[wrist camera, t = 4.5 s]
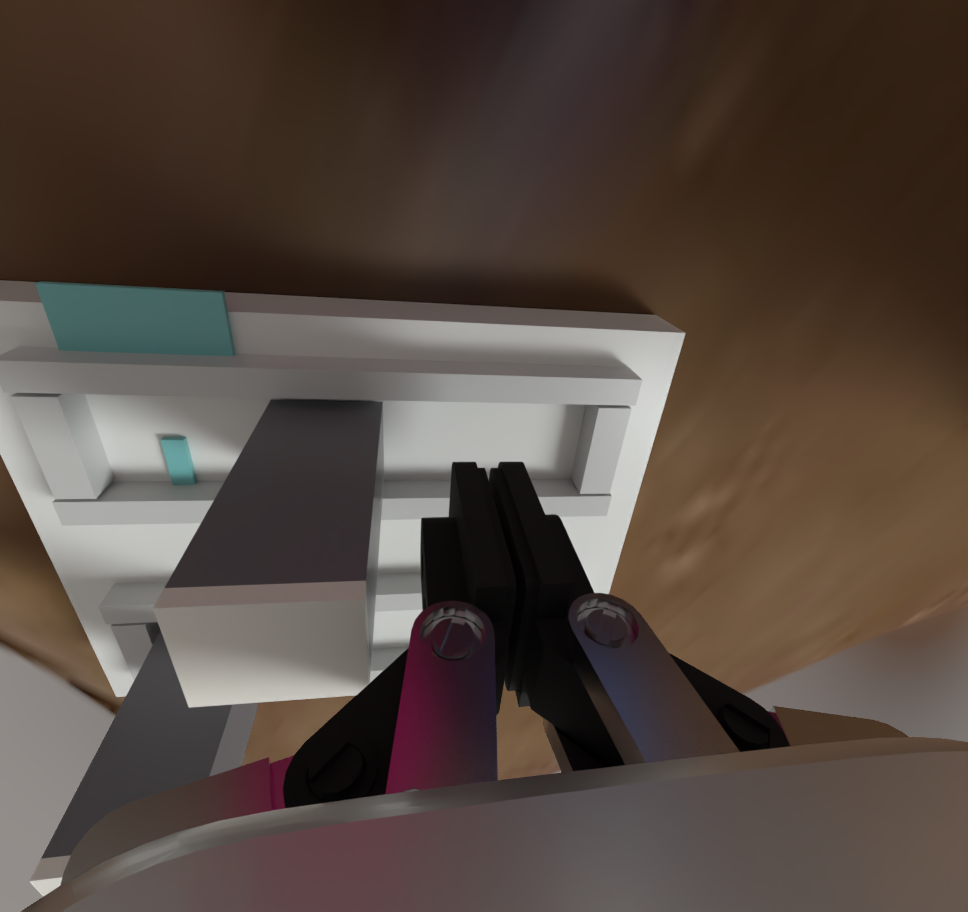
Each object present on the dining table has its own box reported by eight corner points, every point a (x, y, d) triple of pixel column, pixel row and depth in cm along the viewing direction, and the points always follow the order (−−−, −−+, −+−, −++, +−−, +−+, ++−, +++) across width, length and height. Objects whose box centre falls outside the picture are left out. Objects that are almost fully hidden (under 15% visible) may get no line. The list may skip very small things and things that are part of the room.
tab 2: (382, 401, 14) (364, 599, 8) (384, 472, 15) (369, 694, 9) (270, 399, 13) (152, 607, 7) (281, 473, 15) (188, 707, 8)
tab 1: (262, 607, 17) (181, 862, 11) (272, 652, 18) (203, 905, 12) (170, 611, 17) (28, 881, 10) (185, 657, 18) (68, 923, 12)
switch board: (659, 299, 16) (709, 325, 13) (572, 635, 24) (592, 691, 21) (-21, 259, 13) (-127, 283, 10) (143, 660, 21) (106, 730, 18)
